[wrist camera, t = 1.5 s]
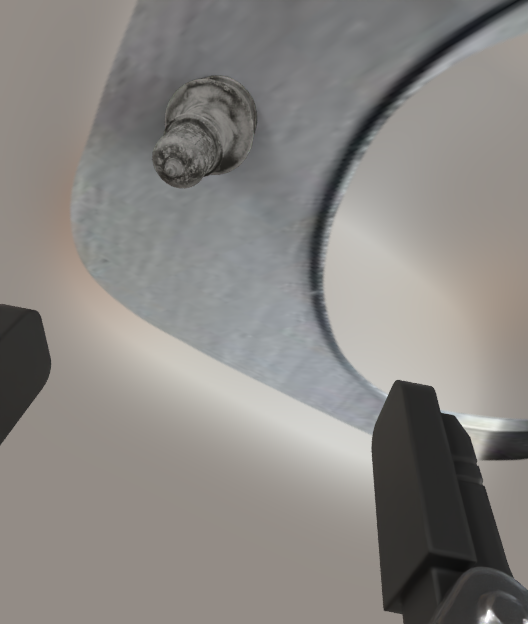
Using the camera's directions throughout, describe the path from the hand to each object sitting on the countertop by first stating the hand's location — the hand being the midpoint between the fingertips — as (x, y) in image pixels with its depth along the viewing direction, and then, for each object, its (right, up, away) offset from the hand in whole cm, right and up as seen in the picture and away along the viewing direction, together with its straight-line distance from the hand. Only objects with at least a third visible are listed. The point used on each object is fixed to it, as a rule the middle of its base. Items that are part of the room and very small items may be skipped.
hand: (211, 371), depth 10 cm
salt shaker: (-2, +15, +21) cm, 26 cm away
